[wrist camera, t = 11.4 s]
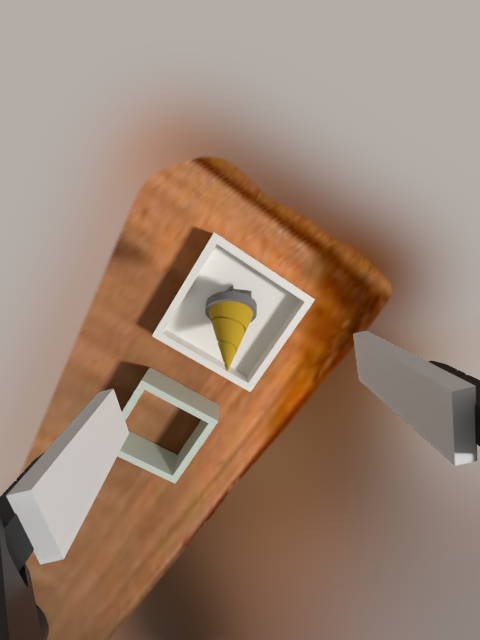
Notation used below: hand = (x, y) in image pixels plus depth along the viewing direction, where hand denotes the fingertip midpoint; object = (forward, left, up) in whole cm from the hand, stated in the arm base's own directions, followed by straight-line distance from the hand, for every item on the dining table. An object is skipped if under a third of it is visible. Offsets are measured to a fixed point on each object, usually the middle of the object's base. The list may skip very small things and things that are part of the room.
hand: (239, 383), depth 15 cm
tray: (0, 0, -18) cm, 18 cm away
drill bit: (0, 0, -17) cm, 17 cm away
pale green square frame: (-11, -11, -18) cm, 24 cm away
